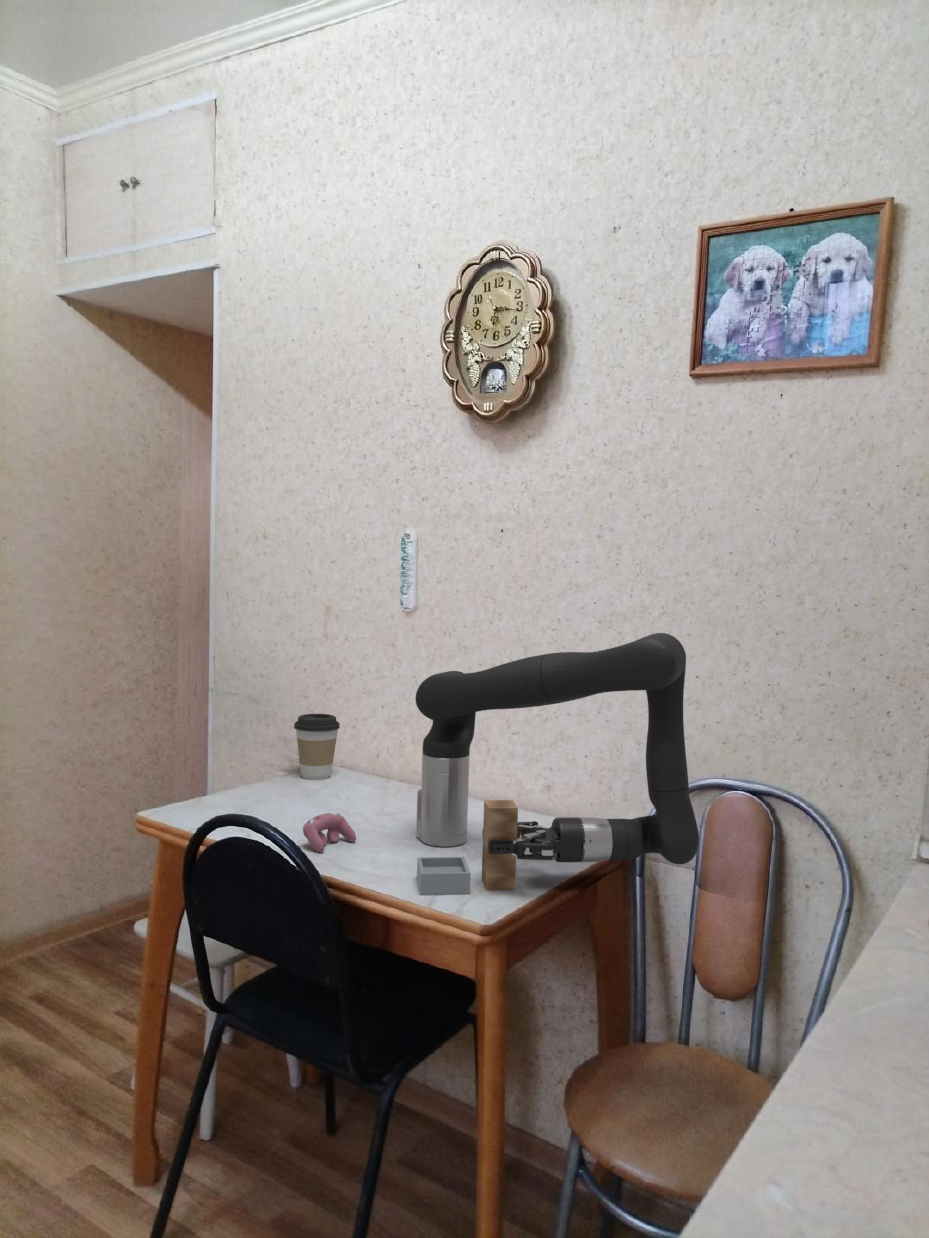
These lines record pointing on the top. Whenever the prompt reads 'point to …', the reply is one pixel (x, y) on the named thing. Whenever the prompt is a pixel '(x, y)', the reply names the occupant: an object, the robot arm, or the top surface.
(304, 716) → the coffee cup
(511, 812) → the walnut pillar
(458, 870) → the grey open box
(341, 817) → the video game controller
